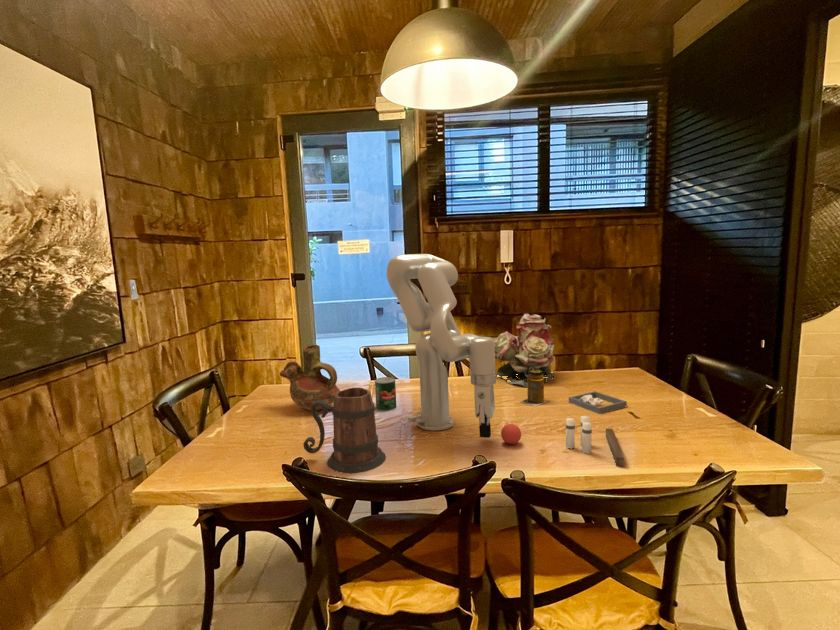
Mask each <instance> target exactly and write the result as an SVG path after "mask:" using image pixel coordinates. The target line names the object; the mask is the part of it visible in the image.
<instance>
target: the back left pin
mask: <svg viewBox="0 0 840 630" xmlns="http://www.w3.org/2000/svg"><path fill="white" fill-rule="evenodd" d="M590 419H591V417H590V416H587V415H582V416H580V445H581V446H582V424H583V422H589V423H591V422H590Z"/></svg>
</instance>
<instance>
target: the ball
mask: <svg viewBox="0 0 840 630" xmlns="http://www.w3.org/2000/svg"><path fill="white" fill-rule="evenodd" d="M500 437H501V439H502V441H504V443H506V444H508V445H515V444H517V443H519V441H520V440H521V438H522V430H521V428H520V427H519V426H518V425H517V424H514V423H507V424H506V425H504V426H503V427H502V428H501V432H500Z"/></svg>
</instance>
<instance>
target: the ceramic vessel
mask: <svg viewBox="0 0 840 630" xmlns="http://www.w3.org/2000/svg"><path fill="white" fill-rule="evenodd" d="M302 351H303V353H302V354H303V357H302V359H303V368H302V366H300V364H298V362H297V361H289V362H287V364H286V365H285V367H283V370H280V372H279V377H282V378H285V379H287V380H288V381H289V394H290V399H291V400H292V401H293V402H294V404H296V405H297V406H298V407H300V408H302V409H305V410H308V411H310V412H311V406H312V405H313V404H314V402H316V401H318V400H322V401H324V402H326V403H327V404H328V405H329V407H330V406H331V405H333V404H334V396H335V393H336V392H338V391H341V390H340V388H338V386H337V385H336V384H337V381H338V374H337V370H336V368H335V367H334V366H333V365H331V364H329V363H326V362H321V347H320V345H318V344H308V345H306V346H304V347H303V350H302ZM321 370H324V371H326V372H327V374H328V375H329V378H328V377H327V376H326V375H323V373H322V371H321ZM320 410H322V406H320V405H316V411H317V412H318V411H320Z"/></svg>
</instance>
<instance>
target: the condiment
mask: <svg viewBox="0 0 840 630" xmlns="http://www.w3.org/2000/svg"><path fill="white" fill-rule="evenodd" d="M528 373H529V375H528V376H529V377H528V388H527V398H526V399H523V400H521V401H520V403H522V404H524V405H529V406H533V407H538V406H540V405H541V404H545V403H547V402H548V401H549V400H548V399H545V398H544V396H545V392H544V391H545V390H544V389H545V387H544V386H545V385H544V379H543V372H542V371H541V370H530V371H529V372H528Z"/></svg>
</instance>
